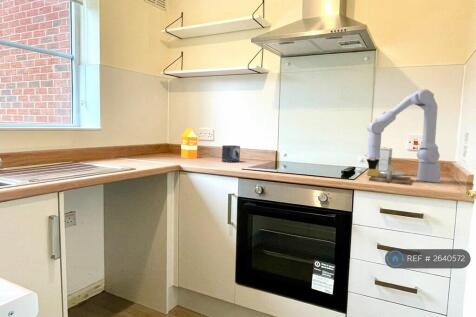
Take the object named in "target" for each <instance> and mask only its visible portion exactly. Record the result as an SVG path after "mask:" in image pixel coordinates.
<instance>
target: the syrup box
mask: <svg viewBox="0 0 476 317" xmlns="http://www.w3.org/2000/svg"><path fill="white" fill-rule="evenodd" d="M392 156H393V147H385V146H384V147H383V146H382V147H381V146H380V157H379V158H377V159H378V160H379V162H378V163H377V166H376V169H378V170H387V169H391V166H392V165H391V164H392ZM378 174H379V173H378Z"/></svg>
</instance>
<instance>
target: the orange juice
mask: <svg viewBox="0 0 476 317" xmlns="http://www.w3.org/2000/svg"><path fill="white" fill-rule="evenodd" d="M180 146H181V150H180V157H181V158H184V159H198V135H197V134H196V132H195V131H194V129H193V128H185V129H184V132H183V133H182V134H181V145H180Z"/></svg>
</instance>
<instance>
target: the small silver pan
mask: <svg viewBox="0 0 476 317" xmlns="http://www.w3.org/2000/svg"><path fill="white" fill-rule="evenodd" d="M388 171H392V176H402V177H405V175H406V172H404V171H397V170H396V169H391V168H390V169H387V170H378V169H377V168H376V169H369V168H367V173H366V175H367V176H368V177H371V176H376V177H378V173H379V174H381V175H387V172H388Z"/></svg>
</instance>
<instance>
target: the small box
mask: <svg viewBox="0 0 476 317" xmlns="http://www.w3.org/2000/svg"><path fill="white" fill-rule="evenodd" d="M221 147H222V150H221V152H222V153H221V162H223V163H240V159H241V158H240V156H241V146H240V145H232V144H231V145H222V146H221Z"/></svg>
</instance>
